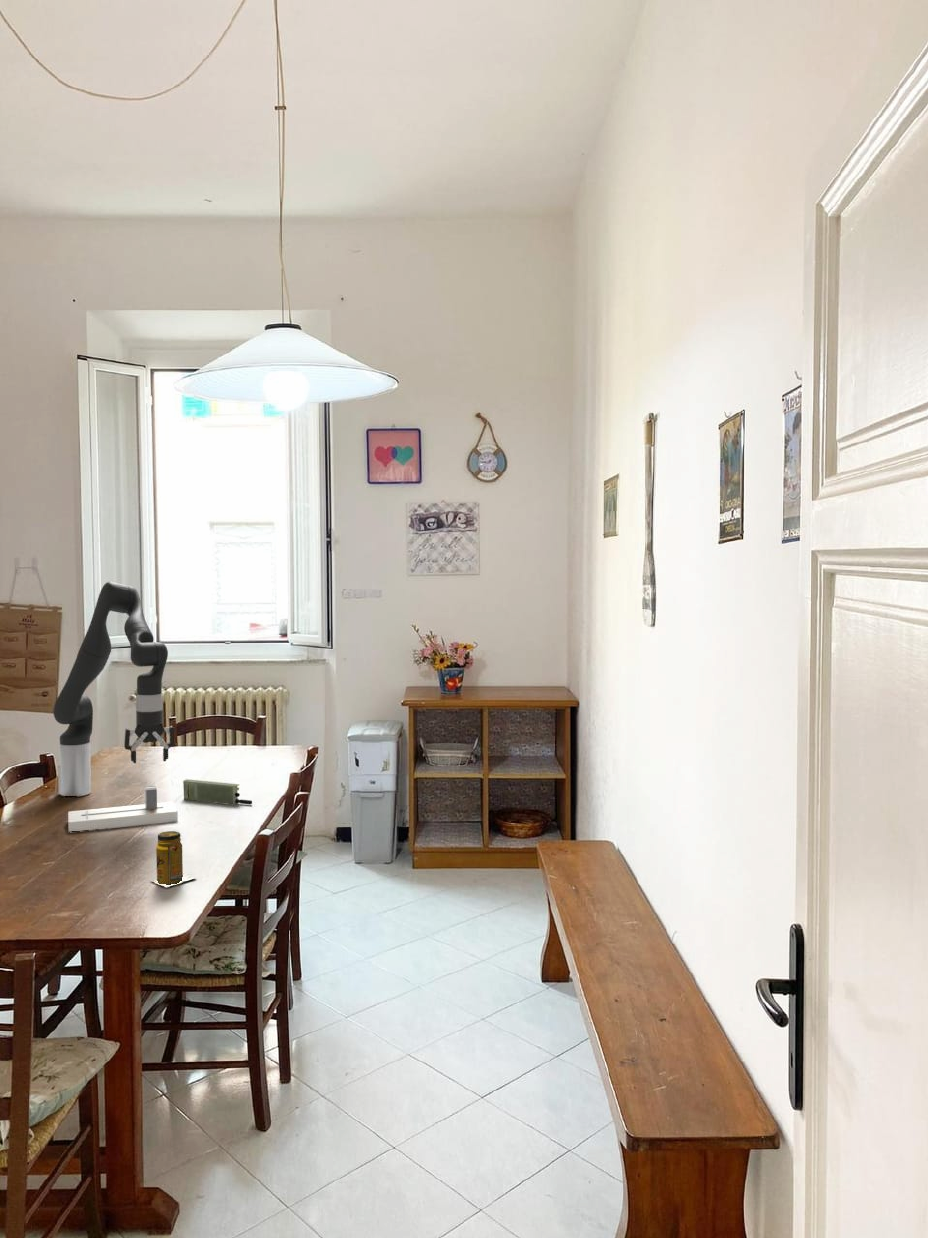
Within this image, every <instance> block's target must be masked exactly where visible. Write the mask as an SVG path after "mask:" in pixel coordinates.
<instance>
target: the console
mask: <svg viewBox="0 0 928 1238" xmlns="http://www.w3.org/2000/svg"><path fill="white" fill-rule="evenodd" d="M67 816H68V818H67V819H68V832H69V831H80V832H84V831H83V830H89V831H96V830H95V829H99V830H107V829H115V828H123V827H124V828H126V827H127V828H128V827H136V826H145V825H154V824H162V823H172V822H178V821H179V820H178V809H177V807H176V805H175V802H174V801H164V802H157V809H152V810H146V807H145V803H144V804H143V803H142V804H136V805H135V804H132V805H123V806H114V807H113V806H112V807H102V808H94V809H93V808H92V809H82V810H81V809H80V810H71V811H68V815H67ZM106 828H107V829H106ZM93 829H94V830H93ZM81 830H82V831H81Z"/></svg>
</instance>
